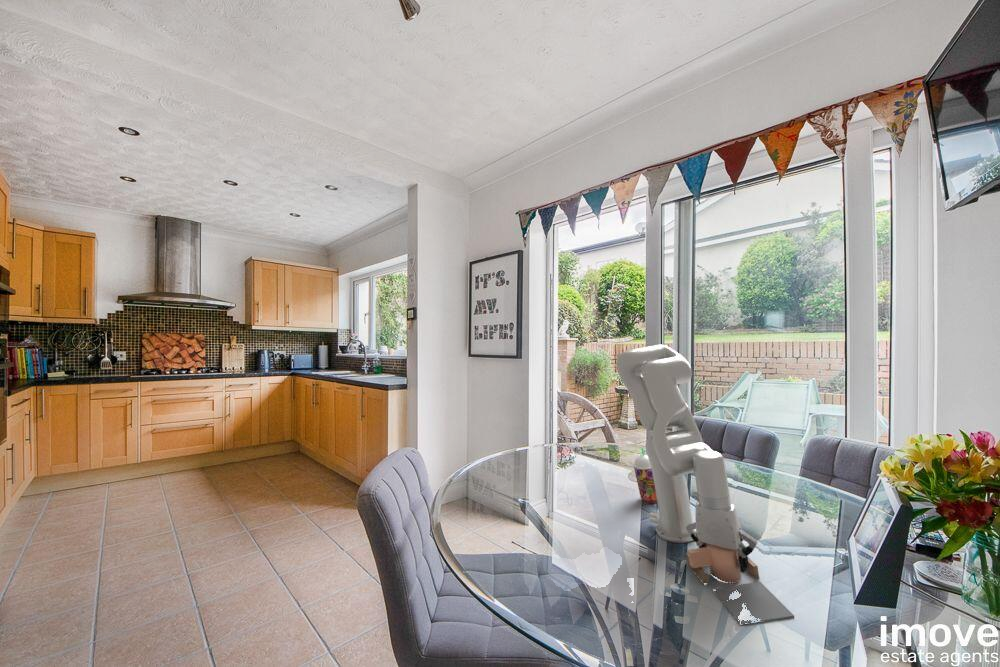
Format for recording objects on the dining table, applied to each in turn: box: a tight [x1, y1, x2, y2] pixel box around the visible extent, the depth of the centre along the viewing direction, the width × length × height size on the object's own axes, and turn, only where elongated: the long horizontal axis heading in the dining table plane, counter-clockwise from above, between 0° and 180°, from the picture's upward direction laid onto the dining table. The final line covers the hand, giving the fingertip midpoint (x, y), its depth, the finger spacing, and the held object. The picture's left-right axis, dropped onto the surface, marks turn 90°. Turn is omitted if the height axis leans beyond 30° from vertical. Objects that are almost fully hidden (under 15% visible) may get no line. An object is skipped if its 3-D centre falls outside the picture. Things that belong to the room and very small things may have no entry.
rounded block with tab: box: [687, 543, 742, 584], centre depth 108 cm, size 12×7×8 cm, turn 90°
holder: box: [685, 551, 760, 584], centre depth 110 cm, size 10×14×3 cm
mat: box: [713, 581, 795, 624], centre depth 97 cm, size 12×12×1 cm
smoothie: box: [632, 447, 657, 504], centre depth 155 cm, size 8×8×20 cm
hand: (724, 564), depth 108 cm, fingers open, 8 cm apart
